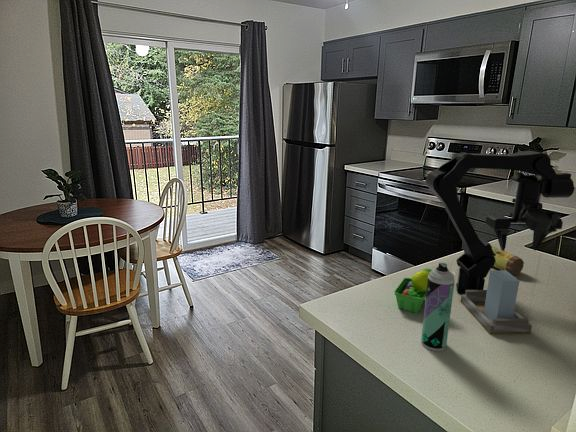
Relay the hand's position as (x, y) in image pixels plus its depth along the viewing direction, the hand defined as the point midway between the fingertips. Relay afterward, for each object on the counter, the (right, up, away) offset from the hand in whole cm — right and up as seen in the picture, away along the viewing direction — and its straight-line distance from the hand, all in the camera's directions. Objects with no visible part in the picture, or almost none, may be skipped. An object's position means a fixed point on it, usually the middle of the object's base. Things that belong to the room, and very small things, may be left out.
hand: (518, 250), depth 111 cm
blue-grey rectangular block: (-13, -16, -12) cm, 24 cm away
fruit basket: (-32, -15, -4) cm, 35 cm away
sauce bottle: (+8, -7, +13) cm, 17 cm away
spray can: (-33, -20, -22) cm, 44 cm away
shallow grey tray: (-13, -16, -10) cm, 23 cm away
